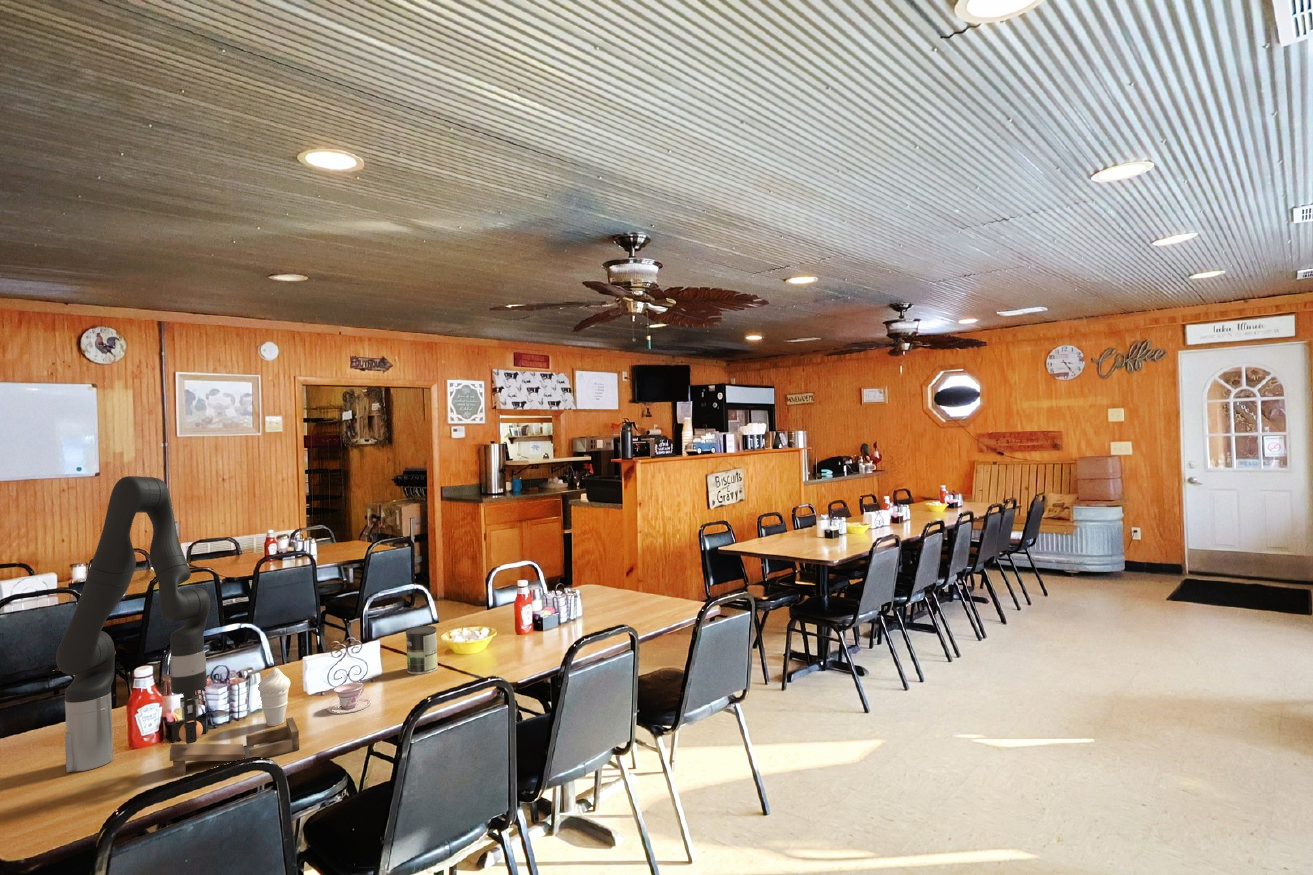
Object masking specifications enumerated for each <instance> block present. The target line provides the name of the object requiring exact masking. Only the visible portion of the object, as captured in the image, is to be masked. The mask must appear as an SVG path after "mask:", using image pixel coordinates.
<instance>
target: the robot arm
mask: <svg viewBox="0 0 1313 875" xmlns="http://www.w3.org/2000/svg"><path fill="white" fill-rule="evenodd" d="M108 500H109V501H108V505H107V511H106V514H105V519H104V524H103V527H102V531H101V535H100V537H99V541H98V544H97V548H96V550H95V553H94V556H93V558H92V561H91V563H90V567H89V569H88V572H87V575H86V578H85V582H84V584H83V585H84V586H83V587H82V590H81V594H80V596H79V598H78V602H77V604H76V608H75V611H74V614H73V616H72V618H71V619H70V620H71V621H70V623H69V625H68V627H67V629H66V631H65V633H64V636H63V637H62V639H61V641H60V643H59V645H58V648H57V650H56V654H55V661H56V665H57V667H58V669H59V670H60V671H61V672H62V673H63V674H65V675H69V676H74V678H73V680H72V682H71V683H70V684H69V685H68V686H67V687H66V689H65V692H64V703H65V704H64V706H65V730H66V731H65V733H64V745H65V746H64V747H65V748H64V749H65V770H66V771H65V773H70V772H71V773H72V772H82V771H83V772H85V771H89V770H93V769H96V768H99V767H102V766H105V765H106V764H109V763H111V762H112V761H113V760H114V745H113V744H114V743H113V742H114V741H113V740H114V738H113V716H112V715H113V712H112V710H113V709H112V684H113V682H114V678H115V662H116V661H115V660H116V658H115V657H116V656H115V655H116V654H115V644H114V641H113V639H112V637H111V636H110V634H108V632H106V631H103V627H104V625H105V622H106V620H107V619H108V618H109V616H110V614H112V612H113V610H114V609H115V608H116V607H117V605H118V604H119V603H120V601H121V600H122V599H123V597H124V596H125V594H126V593H127V591H128V590H129V587H130V584H131V582H132V579H133V575H134V573H135V570H136V565H137V559H136V553H135V550H134V547H133V544H132V540H131V539H132V538H131V530H132V526H133V523H134V519H135V516H136V515H137V513H138V514H139V513H140V514H143V513H146V514H147V516H148V518H149V520H150V523H151V525H152V530H153V531H152V539H151V542H150V547H149V559H150V563H151V566H152V569H153V572H154V573H155V577H156V578H157V583H158V593H159V594H158V595H159V596H158V597H159V600H158V601H159V611H160V614H161V616H162V617H163V618H164V619H165V620H166V621H168V622H172V623H173V622H174V623H175V622H181V621H184V620H186V621H185V623H184V624H183V626H182V627H179V628H178V629H175V631H173V632H171V634H170V639H169V642H170V660H169V662H170V663H169V672H170V673H169V675H170V693H172V694H174V695H180V694H181V695H182V696H181V697H179V699H180V700H179V704H180V705H179V706H180V708H181V718H182V720H184V724H185V725H184V728H185V731H186V742H185V744H195V743H196V742H197V740H198V739H197V737H196V727H197V722H196V721H197V717H198V716H199V704H200V695H199V693H198V694H197V693H196V692H198V691H201V690H203V689H205V688H206V687H207V685H208V681H207V680H208V679H207V658H206V653H205V641H204V640H205V639H204V638H205V637H204V636H205V635H204V634H205V629H206V626H207V622H208V618H209V613H210V610H211V598H210V595H209V593H208V592H207V591H206V590H205V589H203V588H200V587H196V588H190V589H186V590H185V589H184V590H182V591H181V590H180V591H179V585H181V584H182V585H183V583H185V582H187V581H188V580H189V579H191V577H192V574H191V570H190V566H189V564H188V561H187V559H186V556H185V554H184V551H183V549H182V547H181V543H180V540H179V536H178V530H177V525H176V521H175V514H174V510H173V505H172V499H171V495H170V491H169V488H168V486H167V483H165V481H163V480H162V479H160V478H158V477H154V476H153V477H151V476H134V475H128V476H123V477H122V478H120V479H118V481H117V482H116V483H115V485H114V486H113V488H112V490H111V494H110V497H109V499H108ZM193 720H194V722H189V723H187V722H188V721H193Z"/></svg>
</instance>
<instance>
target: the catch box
mask: <svg viewBox="0 0 1313 875" xmlns="http://www.w3.org/2000/svg"><path fill="white" fill-rule="evenodd" d="M285 720H286V721H285V722H286V723H285V724H286V726H281V727H276V728H272V729H266V730H263V731H257V732H254V733H250V734H249V733H248V734H246V735H245V741H246V742H245V743H246V744H245V745H243V746H244V751H245V758H244V759H246V758H251V757H264V759H269V758H272V757H276V756H280V755H285V754H289V753H292V752H297V751H300V730H299V729H298V726H297V723H296V721H295V720H294V717H293V716H291V717H287V718H285Z"/></svg>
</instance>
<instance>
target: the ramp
mask: <svg viewBox="0 0 1313 875" xmlns="http://www.w3.org/2000/svg"><path fill="white" fill-rule="evenodd" d="M244 746H245V745H244V744H243V743H242V744H241V743H238V744H237V743H190V744H187V743H171V745H170V748H169V762H172V765H173V778H176V777H180V776H181V777H182V776H186V773H187V772H186V762H200V761H201V762H204V761H205V762H213V761H214V762H215V761H217V762H218V761H219V762H222V761H223V762H225V761H226V762H229V761H232V762H233V761H234V762H235V761H236V762H238V761H237V760H240V759H243V758H244V759H246V758H245V751H244Z"/></svg>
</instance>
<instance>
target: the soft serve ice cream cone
mask: <svg viewBox="0 0 1313 875" xmlns="http://www.w3.org/2000/svg"><path fill="white" fill-rule="evenodd" d="M260 680H261V682H260V683H259V684H258V685H259V687H258V690H259V691H260V697H261V701H262V703H261V708H262V711H263V714H264V717H265V721H266V725H267V727H276V726H280V725H282V724H284V722H285V720H286V712H287V706H288V704H289V700H288V695H289V691H290V690H289V689H290V686H291V680H290V679H289V677H288V676H286V675H284V674H283V672H282V671H281V670H280V669H279V668H277V667H273V668H272V670H271V672H270V673H269V674H267V675H265V676H264V677H263V678H261V679H260Z"/></svg>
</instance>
